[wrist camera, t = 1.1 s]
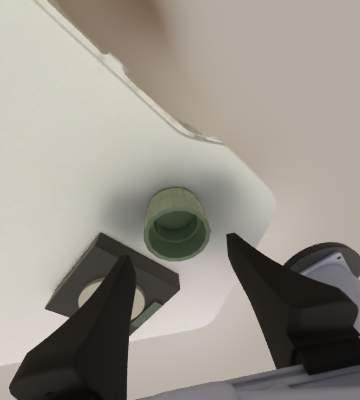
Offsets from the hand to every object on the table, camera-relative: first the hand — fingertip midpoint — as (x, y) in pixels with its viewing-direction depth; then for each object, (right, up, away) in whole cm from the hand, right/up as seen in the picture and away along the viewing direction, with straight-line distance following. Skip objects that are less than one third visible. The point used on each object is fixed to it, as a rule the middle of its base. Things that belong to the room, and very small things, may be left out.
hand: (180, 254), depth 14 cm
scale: (-8, -6, +10) cm, 14 cm away
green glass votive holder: (-1, +3, +6) cm, 7 cm away
